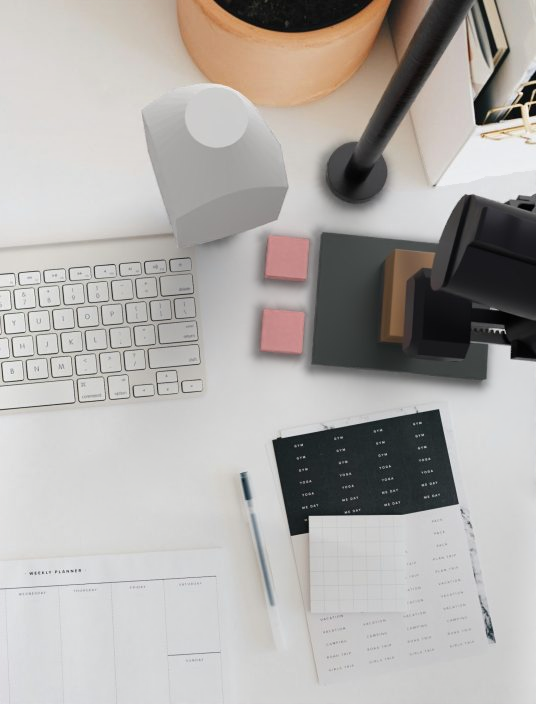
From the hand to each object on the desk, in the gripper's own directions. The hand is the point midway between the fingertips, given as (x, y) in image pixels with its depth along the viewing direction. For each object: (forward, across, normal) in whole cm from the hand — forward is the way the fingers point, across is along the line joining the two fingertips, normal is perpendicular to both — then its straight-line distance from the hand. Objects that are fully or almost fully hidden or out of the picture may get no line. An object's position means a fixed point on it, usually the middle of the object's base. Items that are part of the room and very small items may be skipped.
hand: (491, 342), depth 61 cm
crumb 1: (+12, +16, -9) cm, 22 cm away
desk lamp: (+12, +10, -18) cm, 24 cm away
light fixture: (+12, +24, -13) cm, 30 cm away
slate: (+12, +4, -5) cm, 14 cm away
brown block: (+11, +5, -5) cm, 13 cm away
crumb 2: (+12, +16, -1) cm, 20 cm away
